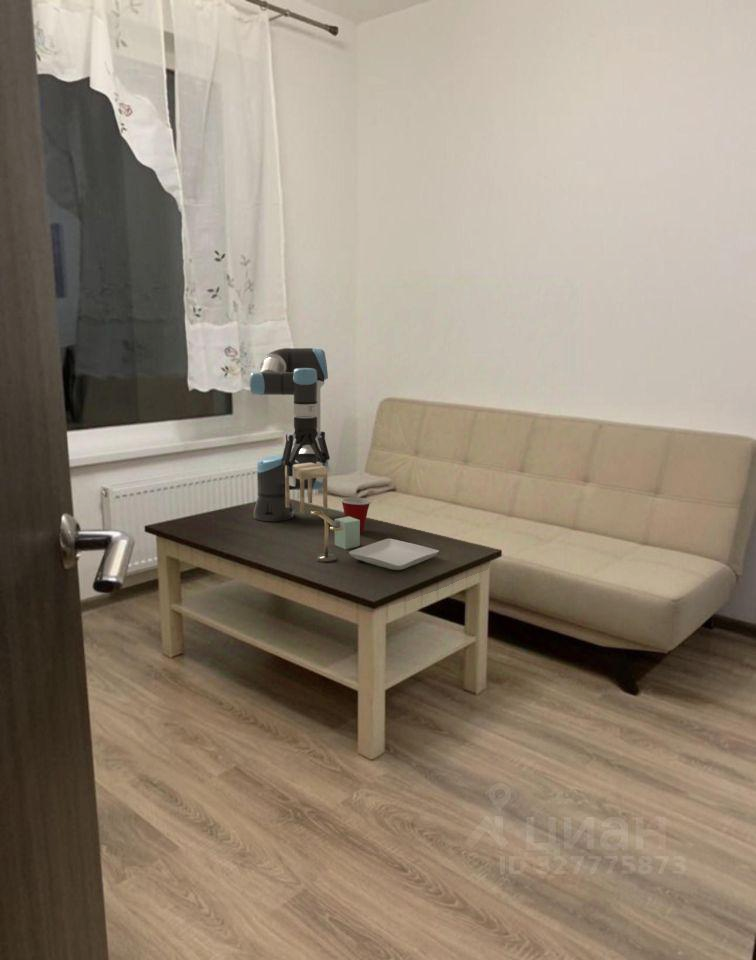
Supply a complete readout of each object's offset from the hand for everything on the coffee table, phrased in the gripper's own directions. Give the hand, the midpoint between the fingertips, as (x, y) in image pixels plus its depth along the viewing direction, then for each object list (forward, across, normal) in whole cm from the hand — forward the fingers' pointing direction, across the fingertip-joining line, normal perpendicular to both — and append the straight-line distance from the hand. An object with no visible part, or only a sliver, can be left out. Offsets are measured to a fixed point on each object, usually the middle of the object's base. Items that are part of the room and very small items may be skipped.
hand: (306, 483), depth 248 cm
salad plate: (+22, +14, -29) cm, 39 cm away
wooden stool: (+8, 0, 0) cm, 8 cm away
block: (+21, +11, -8) cm, 25 cm away
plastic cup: (+22, +23, +3) cm, 32 cm away
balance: (+21, -3, -16) cm, 27 cm away
